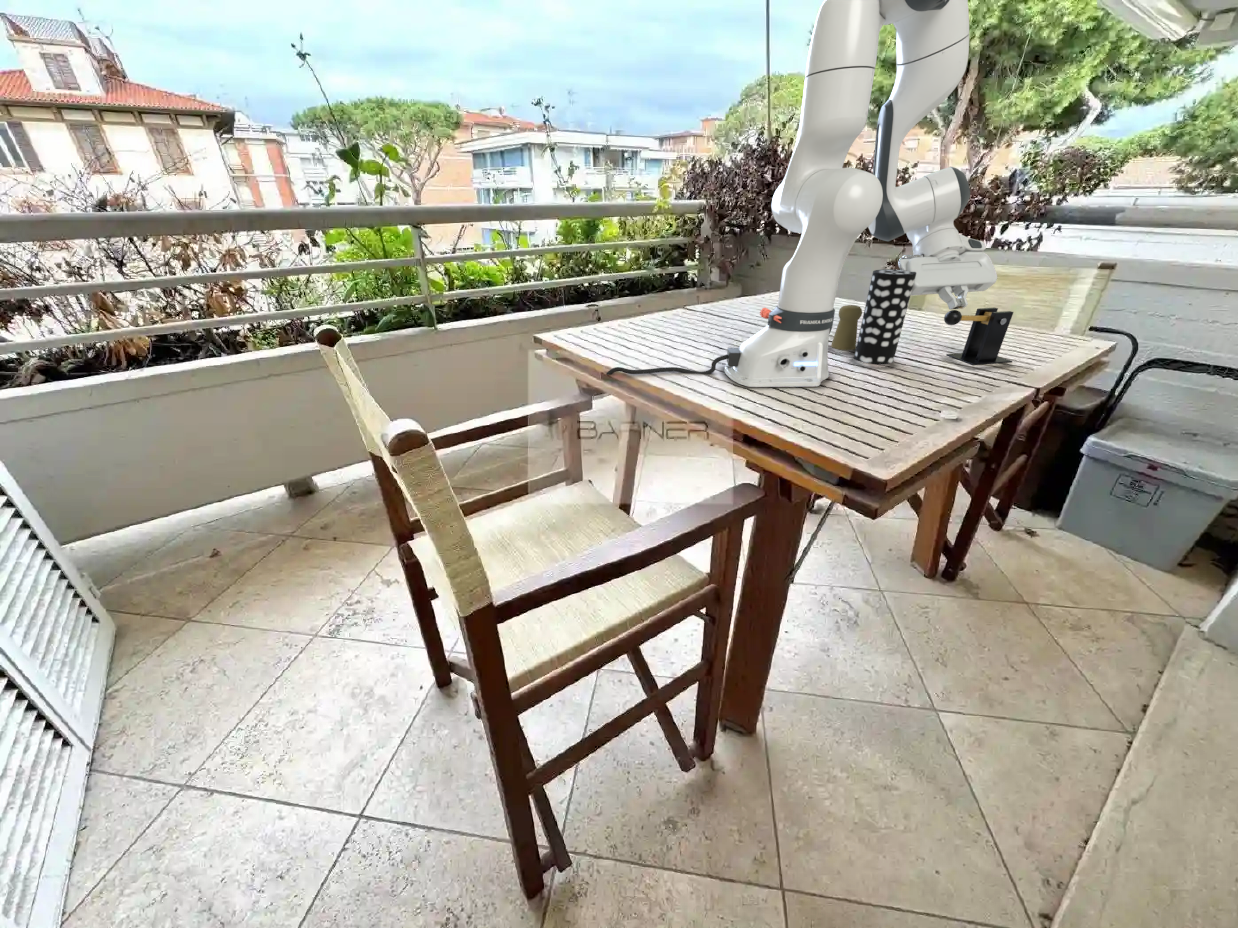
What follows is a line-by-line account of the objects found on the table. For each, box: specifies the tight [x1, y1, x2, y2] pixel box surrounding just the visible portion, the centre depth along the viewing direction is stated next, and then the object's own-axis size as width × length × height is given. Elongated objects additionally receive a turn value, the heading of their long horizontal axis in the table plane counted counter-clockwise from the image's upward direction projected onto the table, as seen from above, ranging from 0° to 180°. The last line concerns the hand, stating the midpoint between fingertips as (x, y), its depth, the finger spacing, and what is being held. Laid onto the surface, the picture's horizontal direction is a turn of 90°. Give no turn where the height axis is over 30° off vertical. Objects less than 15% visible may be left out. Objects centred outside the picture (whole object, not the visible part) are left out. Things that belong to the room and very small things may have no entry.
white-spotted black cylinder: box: [853, 268, 916, 365], centre depth 108 cm, size 8×8×20 cm
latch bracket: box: [945, 307, 1014, 366], centre depth 109 cm, size 10×8×12 cm
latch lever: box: [943, 309, 992, 326], centre depth 106 cm, size 13×3×3 cm, turn 99°
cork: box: [830, 304, 863, 351], centre depth 120 cm, size 6×6×11 cm
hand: (958, 307), depth 104 cm, fingers closed
